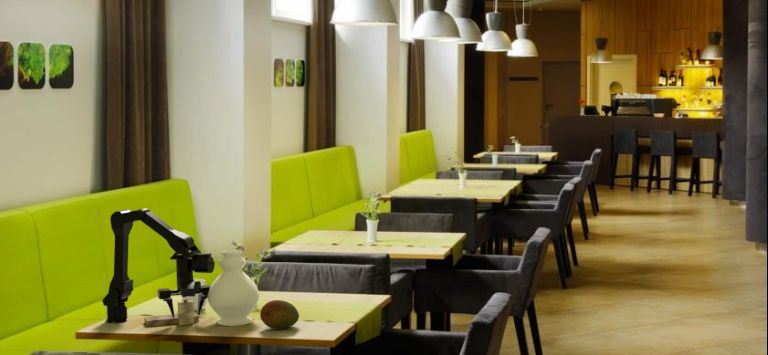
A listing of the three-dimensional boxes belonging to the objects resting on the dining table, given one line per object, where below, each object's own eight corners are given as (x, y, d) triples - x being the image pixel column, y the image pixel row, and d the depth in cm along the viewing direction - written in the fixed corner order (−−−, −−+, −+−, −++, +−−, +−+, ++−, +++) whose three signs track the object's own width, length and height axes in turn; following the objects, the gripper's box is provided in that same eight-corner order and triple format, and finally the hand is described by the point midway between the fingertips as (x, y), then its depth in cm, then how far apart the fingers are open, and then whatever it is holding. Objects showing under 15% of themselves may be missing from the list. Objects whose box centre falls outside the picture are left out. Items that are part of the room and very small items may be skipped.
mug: (198, 313, 407) (196, 284, 406) (177, 309, 415) (176, 281, 414) (216, 309, 413) (215, 281, 412) (196, 305, 421) (195, 277, 420)
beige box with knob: (179, 325, 387) (178, 301, 386) (175, 319, 396) (174, 296, 396) (194, 323, 389) (193, 299, 388) (189, 318, 398) (188, 295, 397)
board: (147, 326, 387) (146, 320, 387) (144, 322, 393) (144, 316, 393) (198, 321, 393) (198, 316, 392) (195, 317, 399) (195, 312, 399)
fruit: (255, 329, 378) (254, 300, 377) (281, 323, 388) (280, 294, 387) (279, 334, 371) (278, 304, 370) (305, 327, 380) (304, 298, 379)
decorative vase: (238, 329, 379) (236, 256, 377) (197, 324, 388) (195, 253, 386) (269, 319, 394) (267, 249, 392) (229, 314, 403) (227, 246, 401)
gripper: (160, 278, 377) (162, 323, 379) (215, 273, 383) (217, 318, 385) (156, 272, 388) (158, 317, 389) (209, 268, 394) (211, 312, 395)
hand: (186, 316), depth 389 cm, fingers open, 8 cm apart
